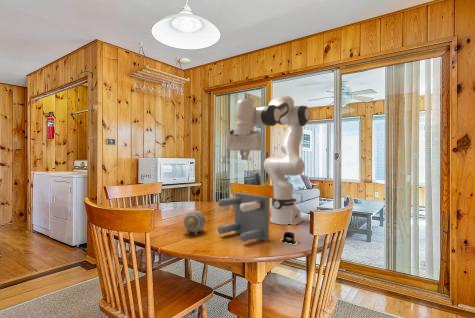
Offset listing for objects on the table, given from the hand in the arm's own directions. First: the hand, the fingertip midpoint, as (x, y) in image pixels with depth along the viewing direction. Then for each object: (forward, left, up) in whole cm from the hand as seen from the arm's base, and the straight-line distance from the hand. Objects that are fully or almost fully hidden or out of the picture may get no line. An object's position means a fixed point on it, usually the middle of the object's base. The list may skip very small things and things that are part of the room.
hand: (244, 159), depth 132 cm
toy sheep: (+14, -20, -37) cm, 45 cm away
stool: (+3, +2, -37) cm, 37 cm away
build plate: (-9, +20, -38) cm, 44 cm away
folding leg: (+5, +9, -23) cm, 25 cm away
